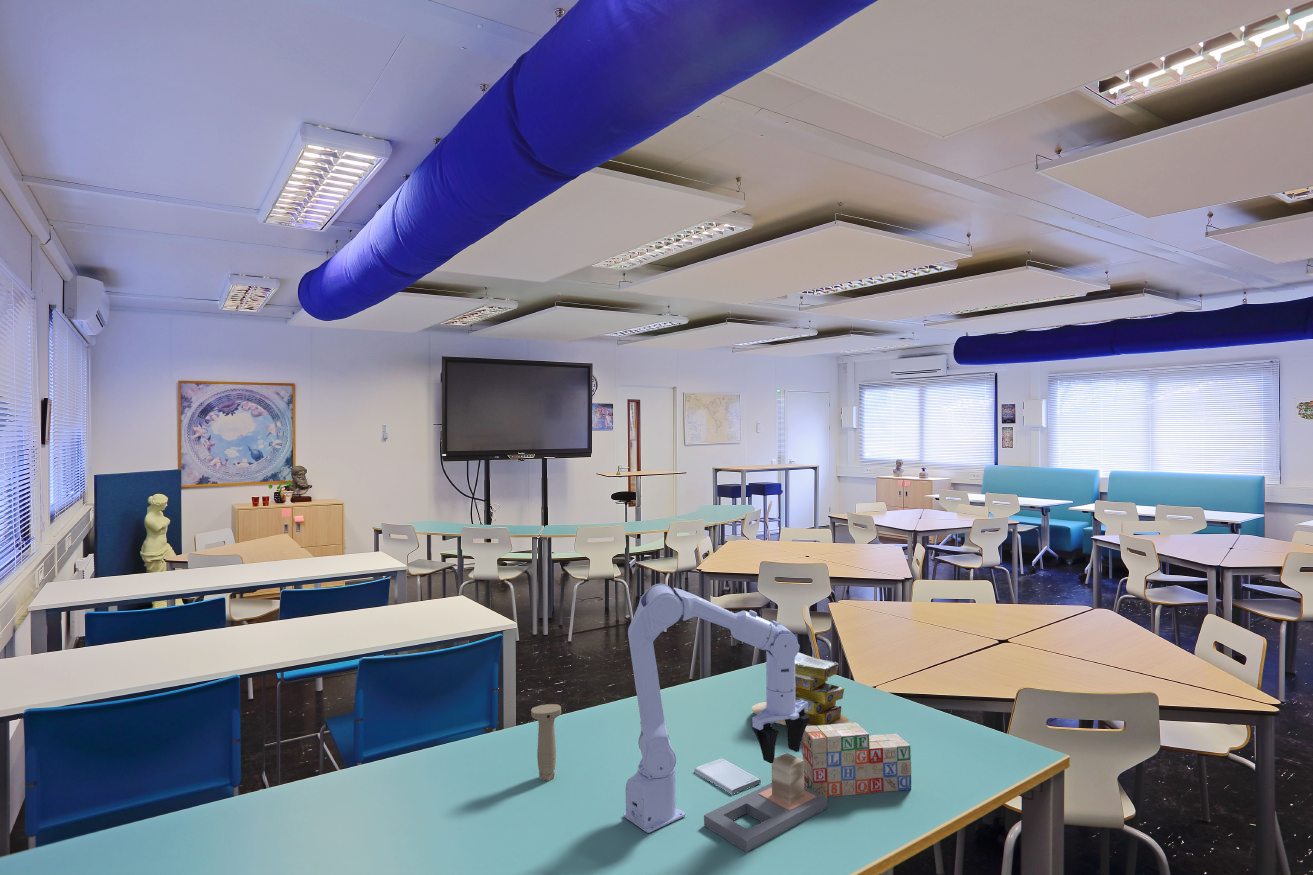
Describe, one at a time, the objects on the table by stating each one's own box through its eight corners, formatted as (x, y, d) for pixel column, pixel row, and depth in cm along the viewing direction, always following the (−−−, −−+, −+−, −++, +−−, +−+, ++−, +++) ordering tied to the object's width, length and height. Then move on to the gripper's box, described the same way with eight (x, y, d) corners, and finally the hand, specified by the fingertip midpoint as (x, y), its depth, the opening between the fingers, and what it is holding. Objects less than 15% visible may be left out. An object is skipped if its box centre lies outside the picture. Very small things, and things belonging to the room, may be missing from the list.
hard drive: (761, 778, 145) (722, 756, 155) (732, 790, 140) (694, 766, 150) (761, 786, 145) (722, 764, 155) (732, 798, 140) (694, 774, 150)
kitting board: (746, 852, 121) (746, 839, 121) (704, 825, 129) (703, 813, 129) (827, 807, 135) (827, 796, 135) (784, 786, 144) (784, 775, 144)
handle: (530, 775, 149) (529, 706, 150) (559, 770, 152) (558, 702, 152) (534, 785, 145) (533, 714, 145) (563, 780, 147) (563, 710, 147)
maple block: (789, 803, 133) (789, 767, 133) (771, 794, 136) (771, 759, 136) (804, 795, 135) (803, 760, 136) (786, 786, 139) (786, 752, 139)
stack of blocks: (897, 776, 148) (896, 719, 148) (912, 790, 142) (911, 731, 142) (802, 783, 145) (801, 725, 145) (812, 798, 139) (812, 737, 139)
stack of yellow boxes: (789, 696, 194) (788, 638, 195) (868, 721, 176) (867, 657, 177) (732, 721, 178) (732, 657, 178) (814, 752, 160) (813, 680, 160)
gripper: (771, 701, 129) (772, 773, 129) (819, 684, 138) (820, 751, 138) (744, 691, 134) (744, 760, 134) (792, 675, 143) (793, 740, 143)
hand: (781, 755), depth 136 cm, fingers open, 7 cm apart
